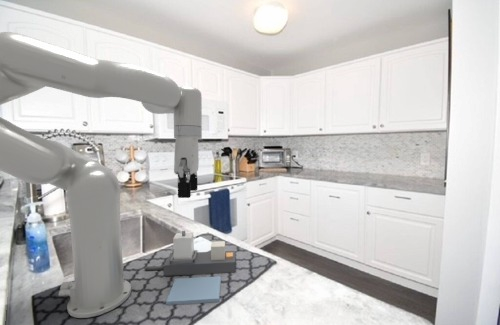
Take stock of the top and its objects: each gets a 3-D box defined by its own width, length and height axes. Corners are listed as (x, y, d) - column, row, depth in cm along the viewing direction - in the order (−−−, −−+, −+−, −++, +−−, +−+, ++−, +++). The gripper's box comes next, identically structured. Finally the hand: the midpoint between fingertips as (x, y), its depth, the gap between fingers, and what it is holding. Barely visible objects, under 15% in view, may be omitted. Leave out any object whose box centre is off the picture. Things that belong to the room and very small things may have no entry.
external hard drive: (201, 258, 74) (182, 246, 83) (221, 250, 80) (201, 239, 89) (201, 253, 74) (182, 242, 83) (221, 245, 80) (201, 235, 88)
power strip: (139, 277, 63) (138, 252, 62) (148, 263, 70) (147, 241, 69) (235, 272, 65) (235, 248, 64) (235, 259, 72) (234, 238, 71)
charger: (173, 262, 65) (173, 234, 64) (177, 255, 69) (176, 229, 68) (191, 261, 65) (191, 233, 65) (194, 254, 69) (193, 228, 69)
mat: (166, 305, 52) (166, 301, 52) (175, 281, 61) (175, 278, 61) (219, 301, 53) (219, 298, 53) (220, 279, 62) (220, 276, 62)
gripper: (182, 134, 72) (182, 188, 73) (164, 130, 55) (165, 200, 56) (206, 135, 72) (206, 188, 73) (195, 131, 55) (195, 200, 56)
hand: (188, 193), depth 65 cm, fingers open, 9 cm apart
